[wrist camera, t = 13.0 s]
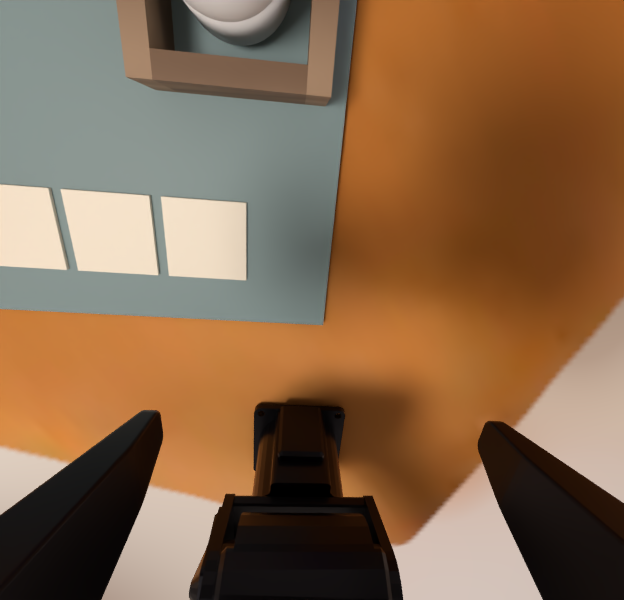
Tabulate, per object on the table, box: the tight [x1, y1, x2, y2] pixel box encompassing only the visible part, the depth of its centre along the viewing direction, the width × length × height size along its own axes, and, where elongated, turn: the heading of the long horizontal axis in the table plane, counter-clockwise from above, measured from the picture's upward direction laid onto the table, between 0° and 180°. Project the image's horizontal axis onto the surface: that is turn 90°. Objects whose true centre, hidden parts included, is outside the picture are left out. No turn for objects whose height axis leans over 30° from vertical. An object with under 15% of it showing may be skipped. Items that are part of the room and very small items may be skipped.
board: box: [0, 0, 357, 325], centre depth 16 cm, size 20×28×1 cm
